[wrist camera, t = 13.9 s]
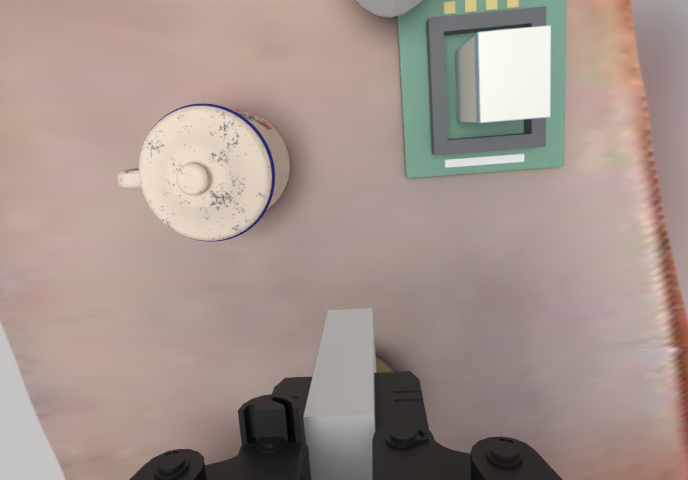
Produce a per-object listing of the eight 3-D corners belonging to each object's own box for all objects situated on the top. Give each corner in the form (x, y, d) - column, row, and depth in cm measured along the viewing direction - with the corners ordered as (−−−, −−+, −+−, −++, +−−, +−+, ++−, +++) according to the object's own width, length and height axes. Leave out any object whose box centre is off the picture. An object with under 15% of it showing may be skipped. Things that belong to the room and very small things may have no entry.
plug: (510, 118, 39) (550, 117, 30) (456, 122, 39) (480, 123, 31) (510, 41, 38) (551, 18, 29) (453, 47, 38) (477, 25, 29)
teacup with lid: (286, 101, 41) (254, 94, 30) (299, 214, 43) (273, 247, 32) (141, 116, 42) (56, 114, 31) (160, 225, 44) (87, 261, 33)
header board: (556, 164, 41) (573, 168, 38) (405, 176, 42) (408, 181, 39) (558, -12, 38) (577, -25, 35) (396, 4, 39) (398, -7, 36)
